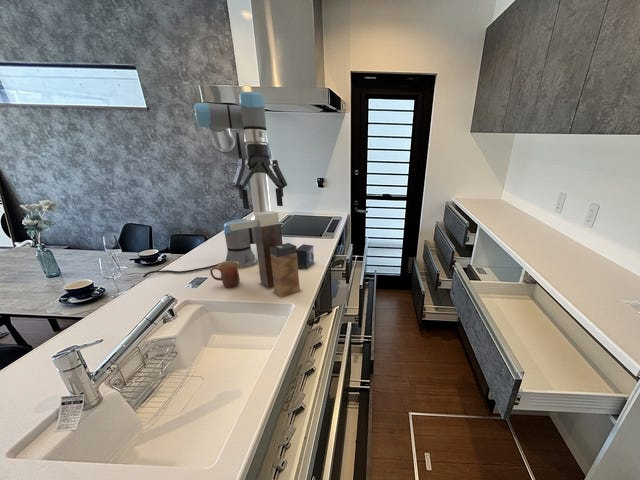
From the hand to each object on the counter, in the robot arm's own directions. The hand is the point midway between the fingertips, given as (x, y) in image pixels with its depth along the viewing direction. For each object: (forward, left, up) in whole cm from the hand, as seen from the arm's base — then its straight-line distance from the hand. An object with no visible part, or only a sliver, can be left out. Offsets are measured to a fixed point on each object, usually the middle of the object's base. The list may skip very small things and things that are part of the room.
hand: (263, 207), depth 111 cm
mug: (-24, +15, -39) cm, 48 cm away
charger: (-7, +15, -11) cm, 19 cm away
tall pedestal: (-4, +18, -39) cm, 43 cm away
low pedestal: (+4, +8, -39) cm, 40 cm away
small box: (+8, +40, -39) cm, 56 cm away
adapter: (+4, +8, -21) cm, 23 cm away
